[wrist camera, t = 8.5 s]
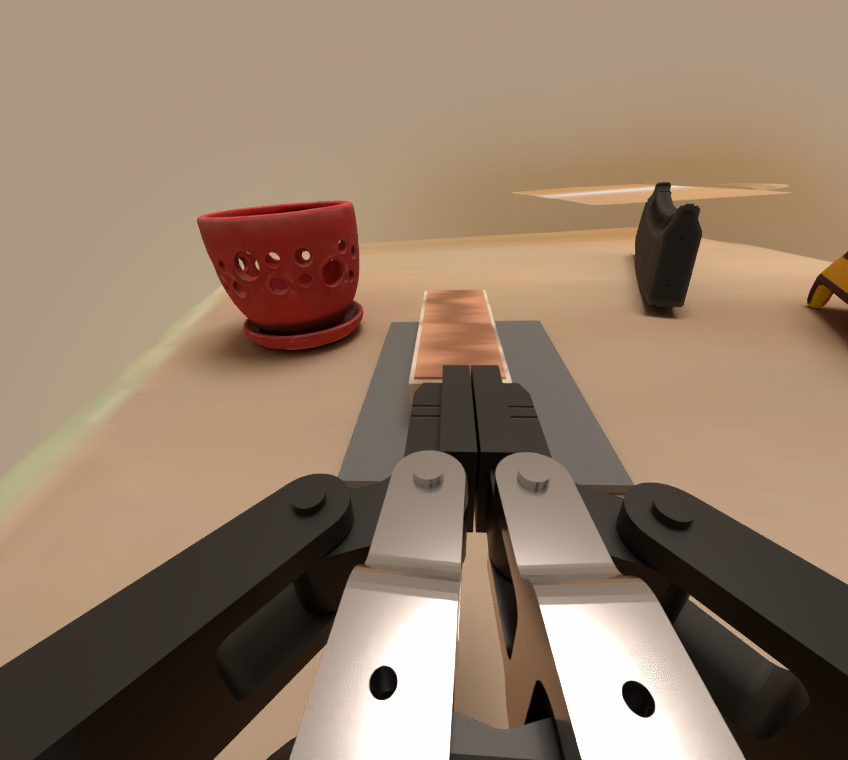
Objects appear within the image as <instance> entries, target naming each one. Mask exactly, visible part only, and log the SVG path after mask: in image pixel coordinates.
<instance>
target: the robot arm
mask: <svg viewBox="0 0 848 760" xmlns="http://www.w3.org/2000/svg"><path fill="white" fill-rule="evenodd" d="M474 512H475V526H476V532H482V533H487V539H488V559H487V569H488V575H489V581H490V587H491V593H492V599H493V605H494V611H495V616H496V622H497V628H498V634H499V640H500V646H501V652H502V657H503V664H504V672H505V692H506V706H507V715H508V723H509V729H507V730H502V729H496V728H493V727H491V726H488V725H486V724H483V723H481V722H478V721H476V720H473V719H471V718H469V717H466V716H464V715H461V714H459V713H456V712H455V701H456V678H457V658H458V638H459V619H460V599H461V580H462V564H463V562H464V560H465V556H466V537H467V532H473V521H474ZM690 595H691V596H692V597H694V598H695V599H696V600H698V601H699V602H700V603H702V604H703V605H704V606H706V607H707V608H708V609H710V610H711V611H712V612H714V613H715V614H716V615H718V616H719V617H720V618H721V619H723V620H724V621H725V622H727V623H728V624H729V625H731V626H732V627H733V628H735V629H736V630H737V631H739V632H740V633H741V634H743V635H744V636H745V637H747V638H748V639H749V640H751V641H752V642H753V643H755V644H756V645H757V646H759V647H760V648H761V649H763V650H764V651H765V652H766V653H768V654H769V655H770V656H772V657H773V658H774V659H776V660H777V661H778V662H780V663H781V664H782V665H784V666H785V667H786V668H787V669H789V670H790V671H789V670H786V669H783V668H781V667H779V666H777V665H775V664H773V663H771V662H770V661H768V660H767V659H766V658H764V657H763V656H762V655H760V654H759V653H758V652H756V651H755V650H754V649H753V648H751V647H750V646H749V645H747V644H746V643H745V642H743V641H742V640H741V639H739V638H738V637H737V636H736V635H734V634H733V633H732V632H730V631H729V630H728V629H726V628H725V627H724V626H723V625H721V624H720V623H719V622H717V621H716V620H715V619H713V618H712V617H711V616H709V615H708V614H707V613H706V612H704V611H703V610H702V609H700V608H699V607H698V606H696V605H695V604H694V603H693V602H691V601H690V600H689V599H688V598H689V597H690ZM326 644H327V645H326ZM325 645H326V648H325V651H324V654H323V657H322V661H321V664H320V667H319V670H318V673H317V676H316V679H315V682H314V685H313V688H312V691H311V694H310V697H309V701H308V704H307V707H306V710H305V713H304V716H303V719H302V722H301V725H300V728H299V731H298V734H297V737H295V738H293V739H292V740H290V741H289V742H288V743H286V744H285V745H284V746H282V747H281V748H280V749H279V750H277V751H276V752H275V753H273V754H272V755H271V756H270V757H269V758H268V759H267V760H848V585H847V584H846V583H844V582H842V581H840V580H839V579H837V578H835V577H834V576H832V575H830V574H828V573H827V572H825V571H823V570H821V569H820V568H818V567H816V566H814V565H813V564H811V563H809V562H807V561H806V560H804V559H802V558H800V557H799V556H797V555H795V554H793V553H792V552H790V551H788V550H787V549H785V548H783V547H781V546H780V545H778V544H776V543H774V542H773V541H771V540H769V539H767V538H766V537H764V536H762V535H760V534H759V533H757V532H755V531H753V530H752V529H750V528H748V527H746V526H745V525H743V524H741V523H740V522H738V521H736V520H734V519H733V518H731V517H729V516H727V515H726V514H724V513H722V512H720V511H719V510H717V509H715V508H713V507H712V506H710V505H708V504H706V503H705V502H703V501H701V500H699V499H698V498H696V497H694V496H693V495H691V494H689V493H687V492H685V491H683V490H680V489H678V488H675V487H672V486H669V485H665V484H660V483H641V484H638V485H635V486H633V487H631V488H630V489H629V490H628V491H627V492H626V494H625V497H624V498H621V497H617V496H613V495H609V494H606V493H602V492H598V491H594V490H591V489H588V488H585V487H583V486H581V485H579V484H577V483H575V482H574V481H573V479H572V477H571V475H570V474H569V472H568V471H567V470H566V469H565V467H563V466H562V465H561V464H560V463H558V462H557V461H555V460H554V459H552V456H551V453H550V450H549V448H548V445H547V442H546V439H545V436H544V433H543V430H542V427H541V424H540V422H539V419H538V416H537V413H536V410H535V408H534V404H533V401H532V398H531V395H530V393H529V392H528V391H526V390H525V389H524V388H523V387H522V386H521V385H520V384H519V383H503V382H502V377H501V373H500V369H499V366H498V365H471V373H470V367H469V365H443V373H442V383H423V384H422V385H421V386H420V387H419V388H418V389H417V390H416V391H415V392H414V396H413V403H412V409H411V418H410V421H409V428H408V434H407V440H406V447H405V453H404V458H403V459H401V460H400V461H399V462H398V463H397V465H396V466H395V468H394V470H393V472H392V475H391V476H389V477H388V478H386V479H385V480H383V481H380V482H378V483H375V484H372V485H368V486H364V487H360V488H355V489H351V490H349V489H348V486H347V485H346V483H345V482H344V481H343V480H341V479H340V478H338V477H336V476H333V475H329V474H312V475H307V476H304V477H301V478H298V479H296V480H294V481H292V482H290V483H289V484H287V485H285V486H284V487H282V488H281V489H279V490H278V491H276V492H275V493H273V494H271V495H270V496H268V497H267V498H265V499H264V500H262V501H260V502H259V503H257V504H256V505H254V506H253V507H251V508H249V509H248V510H246V511H245V512H243V513H242V514H240V515H238V516H237V517H235V518H234V519H232V520H231V521H229V522H227V523H226V524H224V525H223V526H221V527H220V528H218V529H217V530H215V531H213V532H212V533H210V534H209V535H207V536H206V537H204V538H202V539H201V540H199V541H198V542H196V543H195V544H193V545H191V546H190V547H188V548H187V549H185V550H184V551H182V552H180V553H179V554H177V555H176V556H174V557H173V558H171V559H169V560H168V561H166V562H165V563H163V564H162V565H160V566H159V567H157V568H155V569H154V570H152V571H151V572H149V573H148V574H146V575H144V576H143V577H141V578H140V579H138V580H137V581H135V582H133V583H132V584H130V585H129V586H127V587H126V588H124V589H122V590H121V591H119V592H118V593H116V594H115V595H113V596H111V597H110V598H108V599H107V600H105V601H104V602H102V603H101V604H99V605H97V606H96V607H94V608H93V609H91V610H90V611H88V612H86V613H85V614H83V615H82V616H80V617H79V618H77V619H75V620H74V621H72V622H71V623H69V624H68V625H66V626H64V627H63V628H61V629H60V630H58V631H57V632H55V633H53V634H52V635H50V636H49V637H47V638H46V639H44V640H43V641H41V642H39V643H38V644H36V645H35V646H33V647H32V648H30V649H28V650H27V651H25V652H24V653H22V654H21V655H19V656H17V657H16V658H14V659H13V660H11V661H10V662H8V663H6V664H5V665H3V666H2V667H0V760H213V759H214V758H215V757H216V756H217V755H218V754H219V753H220V752H221V751H222V750H223V749H224V748H225V747H226V746H227V745H228V744H229V743H230V742H231V741H232V740H233V739H234V738H235V737H236V736H237V735H238V734H239V733H240V732H241V731H242V730H243V729H244V728H245V727H246V726H247V725H248V724H249V723H250V722H251V721H252V720H253V719H254V718H255V716H256V715H257V714H258V713H259V712H260V711H261V710H262V709H263V708H264V707H265V706H266V705H267V704H268V703H269V702H270V701H271V700H272V699H273V698H274V697H275V696H276V695H277V694H278V693H279V692H280V691H281V690H282V689H283V688H284V687H285V686H286V685H287V684H288V683H289V682H290V681H291V680H292V679H293V678H294V677H295V676H296V675H297V674H298V673H299V672H300V671H301V670H302V669H303V667H304V666H305V665H306V664H307V663H308V662H309V661H310V660H311V659H312V658H313V657H314V656H315V655H316V654H317V653H318V652H319V651H320V650H321V649H322V648H323V647H324V646H325Z"/></svg>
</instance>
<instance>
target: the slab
mask: <svg viewBox="0 0 848 760" xmlns="http://www.w3.org/2000/svg"><path fill="white" fill-rule="evenodd" d="M443 365H469V367H470V373H471V365H498V366H499V369H500V373H501V377H502V382H503V383H512V380H511V377H510V373H509V370H508V367H507V363H506V360H505V356H504V353H503V349H502V346H501V343H500V339H499V336H498V332H497V329H496V325H495V322H494V319H493V315H492V312H491V308H490V305H489V301H488V298H487V295H486V291H485V290H444V291H425V293H424V299H423V304H422V310H421V316H420V321H419V327H418V333H417V339H416V344H415V350H414V356H413V361H412V367H411V373H410V378H409V397H410V413H411V409H412V403H413V396H414V392H415V391H416V390H417V389H418V388H419V387H420V386H421V385H422V384H423V383H442V373H443Z"/></svg>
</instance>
